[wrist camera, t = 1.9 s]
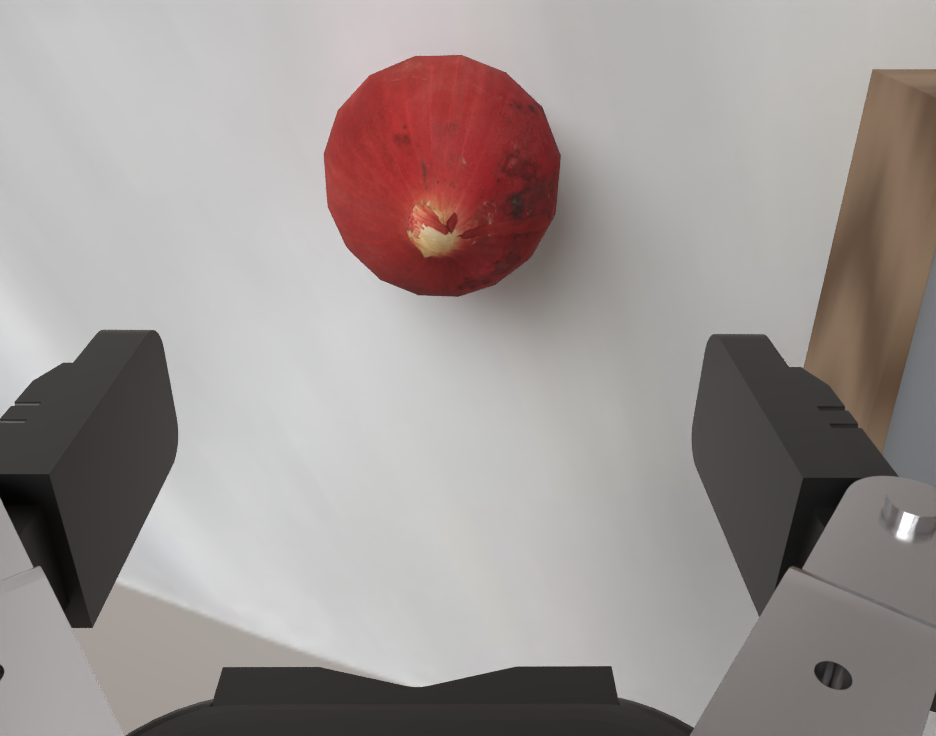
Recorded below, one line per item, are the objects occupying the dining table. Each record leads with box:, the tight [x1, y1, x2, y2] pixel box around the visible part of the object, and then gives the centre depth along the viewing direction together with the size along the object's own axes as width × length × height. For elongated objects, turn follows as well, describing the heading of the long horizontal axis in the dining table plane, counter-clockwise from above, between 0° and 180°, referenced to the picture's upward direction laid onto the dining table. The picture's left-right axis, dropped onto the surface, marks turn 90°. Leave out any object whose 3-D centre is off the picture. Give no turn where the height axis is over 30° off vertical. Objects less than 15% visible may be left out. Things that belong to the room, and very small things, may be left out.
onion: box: [324, 55, 561, 297], centre depth 21 cm, size 6×6×8 cm
